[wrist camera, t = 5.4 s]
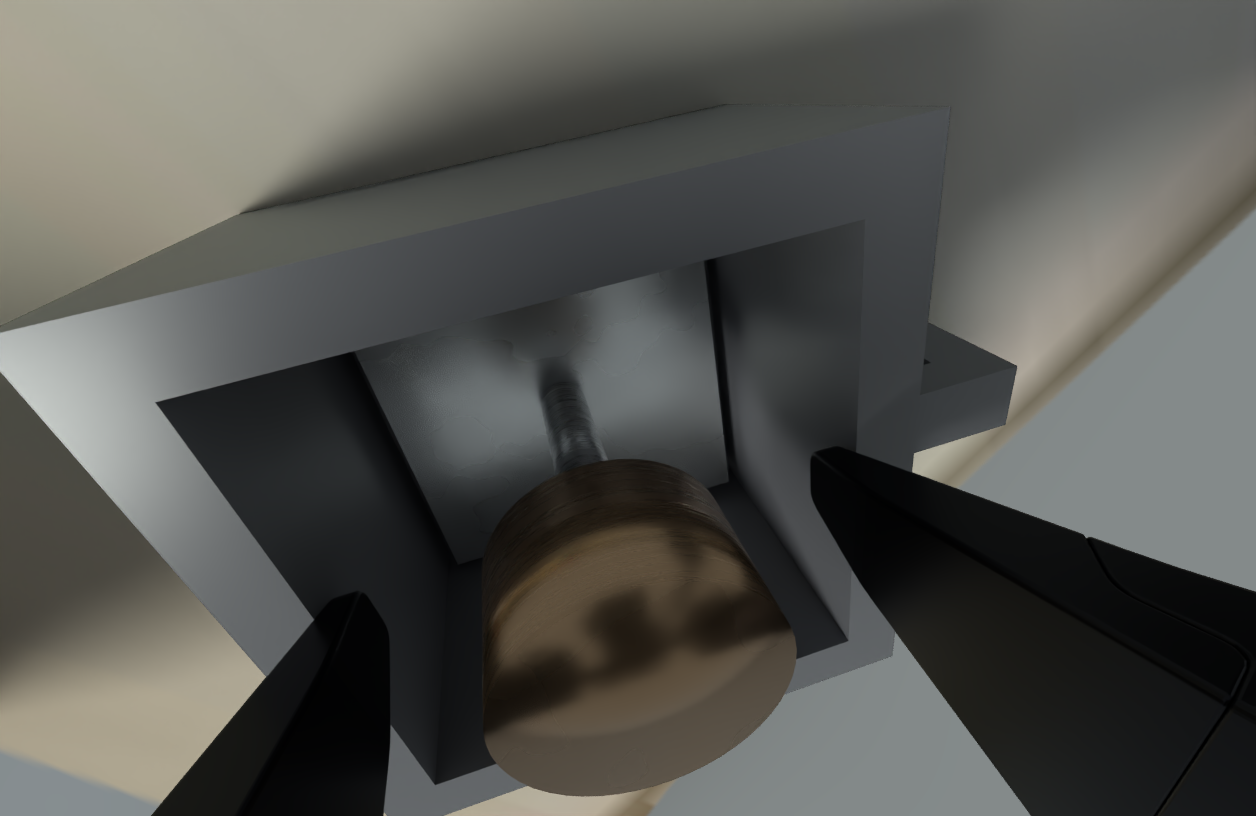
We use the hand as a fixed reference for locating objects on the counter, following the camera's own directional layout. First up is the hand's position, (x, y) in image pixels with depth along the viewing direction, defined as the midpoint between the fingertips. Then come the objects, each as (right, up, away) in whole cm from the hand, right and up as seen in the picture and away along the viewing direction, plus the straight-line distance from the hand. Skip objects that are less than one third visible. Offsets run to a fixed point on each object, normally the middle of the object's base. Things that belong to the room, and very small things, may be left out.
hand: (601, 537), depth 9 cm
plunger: (-1, +2, +4) cm, 5 cm away
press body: (0, +3, +5) cm, 6 cm away
